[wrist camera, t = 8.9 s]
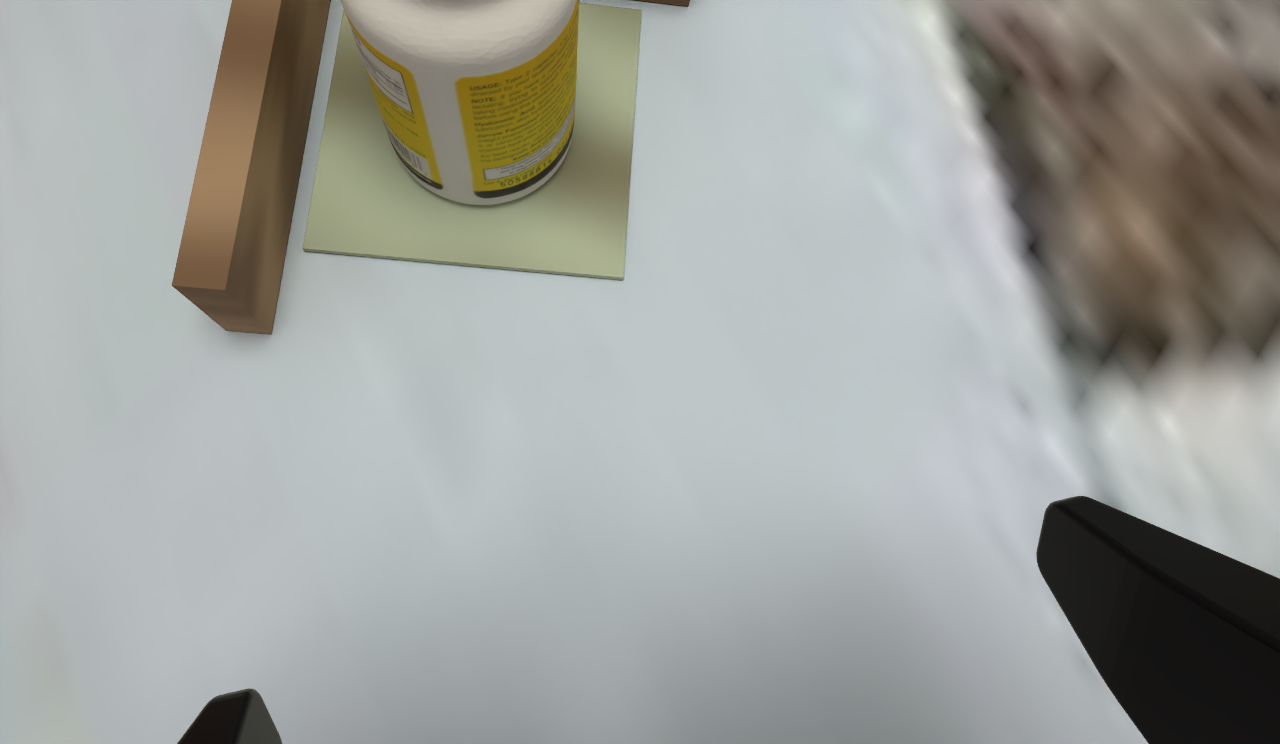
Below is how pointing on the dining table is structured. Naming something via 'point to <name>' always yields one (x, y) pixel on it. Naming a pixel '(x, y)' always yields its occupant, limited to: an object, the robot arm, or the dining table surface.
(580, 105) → the wooden corner bracket
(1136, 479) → the dining table surface
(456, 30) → the supplement bottle
